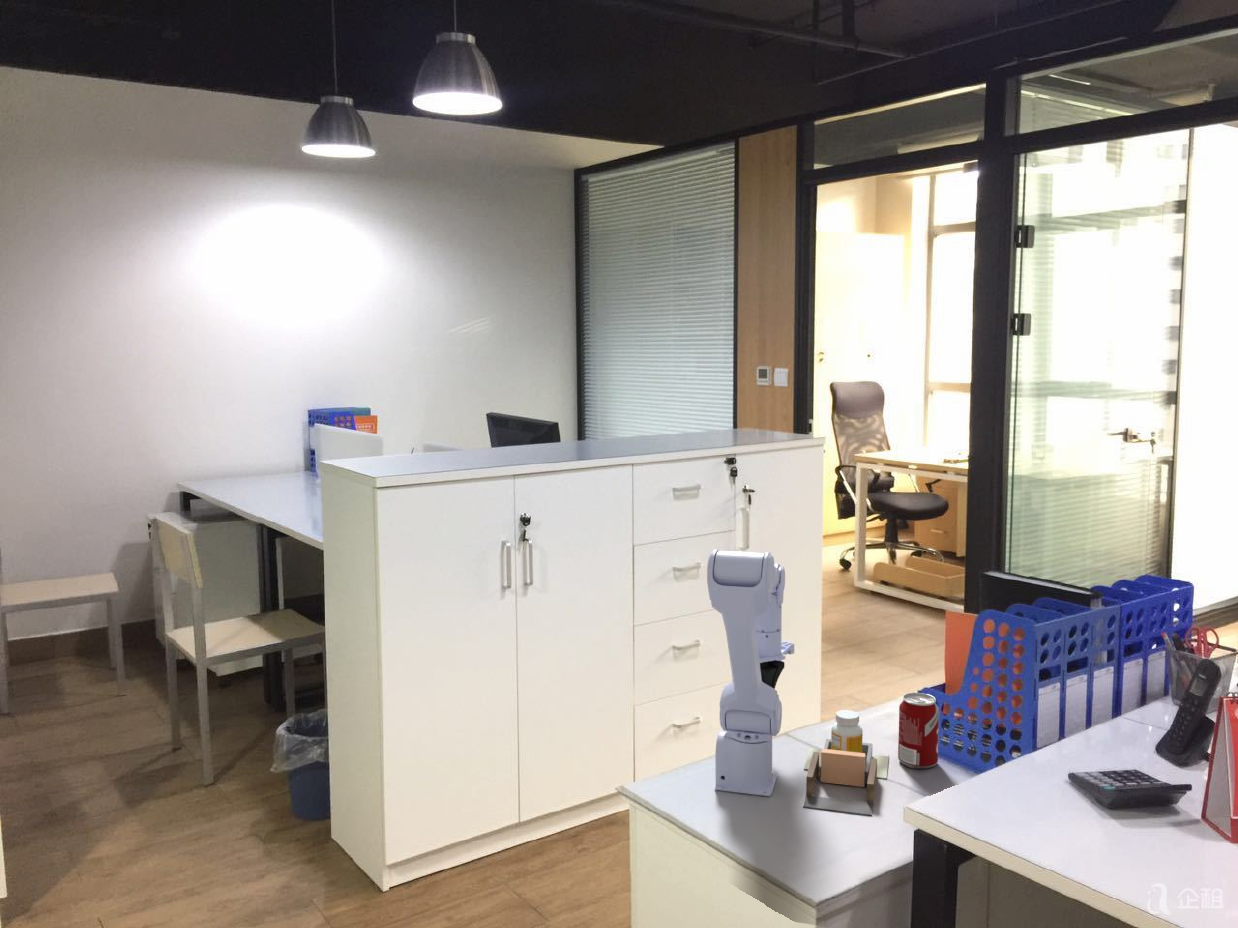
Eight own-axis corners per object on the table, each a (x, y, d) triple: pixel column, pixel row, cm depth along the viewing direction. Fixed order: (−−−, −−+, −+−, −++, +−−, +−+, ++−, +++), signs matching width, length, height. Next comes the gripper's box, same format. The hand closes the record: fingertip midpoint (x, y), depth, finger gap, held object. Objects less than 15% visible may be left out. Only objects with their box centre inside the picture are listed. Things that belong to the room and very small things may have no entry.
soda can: (915, 774, 176) (916, 708, 174) (890, 759, 182) (891, 695, 181) (945, 766, 179) (947, 701, 177) (920, 752, 185) (921, 688, 183)
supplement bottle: (827, 769, 179) (828, 717, 177) (834, 757, 183) (834, 706, 182) (858, 774, 176) (859, 721, 175) (864, 761, 181) (865, 710, 180)
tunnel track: (793, 805, 166) (793, 785, 165) (810, 748, 187) (810, 730, 187) (882, 817, 161) (882, 796, 161) (888, 757, 183) (889, 738, 182)
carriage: (817, 781, 173) (818, 751, 173) (826, 749, 186) (826, 721, 185) (867, 787, 171) (867, 757, 170) (872, 754, 184) (872, 726, 183)
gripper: (756, 641, 177) (756, 716, 178) (807, 623, 186) (807, 694, 188) (726, 633, 182) (726, 705, 184) (777, 616, 191) (777, 685, 193)
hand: (765, 699), depth 186 cm, fingers closed
